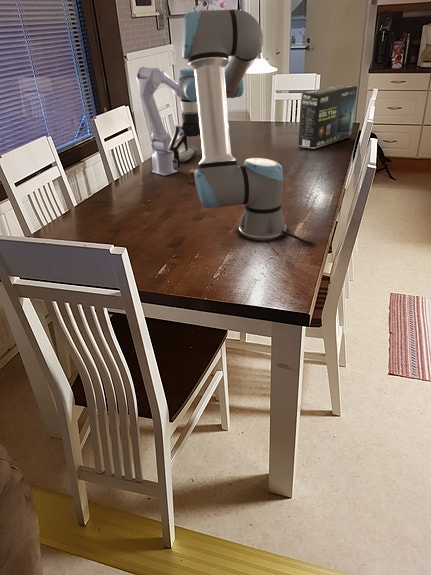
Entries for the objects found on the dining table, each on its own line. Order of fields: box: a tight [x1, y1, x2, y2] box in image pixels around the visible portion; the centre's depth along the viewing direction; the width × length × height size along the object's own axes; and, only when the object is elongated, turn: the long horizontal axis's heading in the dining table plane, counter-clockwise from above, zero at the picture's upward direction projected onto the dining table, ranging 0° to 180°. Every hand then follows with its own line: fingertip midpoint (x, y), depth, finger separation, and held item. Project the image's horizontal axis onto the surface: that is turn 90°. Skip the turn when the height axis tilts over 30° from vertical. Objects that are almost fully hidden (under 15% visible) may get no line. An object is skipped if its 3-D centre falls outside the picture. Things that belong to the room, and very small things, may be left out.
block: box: [187, 168, 198, 185], centre depth 196 cm, size 4×5×5 cm
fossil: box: [172, 142, 199, 163], centre depth 229 cm, size 18×11×15 cm
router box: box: [297, 84, 358, 151], centre depth 238 cm, size 36×11×27 cm, turn 134°
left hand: (194, 149), depth 218 cm, fingers open, 7 cm apart
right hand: (194, 165), depth 193 cm, fingers open, 13 cm apart
